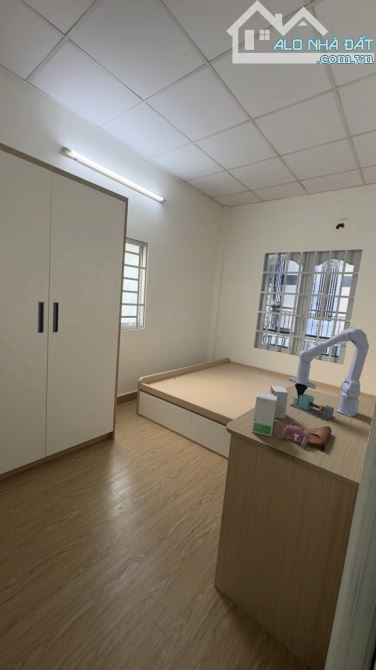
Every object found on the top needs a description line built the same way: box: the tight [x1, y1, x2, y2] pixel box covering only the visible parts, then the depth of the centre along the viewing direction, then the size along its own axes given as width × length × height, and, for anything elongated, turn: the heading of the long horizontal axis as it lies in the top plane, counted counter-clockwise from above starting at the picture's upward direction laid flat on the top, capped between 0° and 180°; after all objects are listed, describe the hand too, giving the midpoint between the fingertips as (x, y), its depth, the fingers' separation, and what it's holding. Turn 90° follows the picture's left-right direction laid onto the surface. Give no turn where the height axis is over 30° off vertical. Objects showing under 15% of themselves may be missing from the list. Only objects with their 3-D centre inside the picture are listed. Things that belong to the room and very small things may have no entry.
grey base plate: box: [289, 403, 336, 421], centre depth 142 cm, size 8×20×1 cm, turn 36°
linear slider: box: [292, 395, 335, 420], centre depth 142 cm, size 4×20×5 cm, turn 35°
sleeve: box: [298, 393, 315, 410], centre depth 145 cm, size 6×5×6 cm
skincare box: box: [251, 391, 277, 438], centre depth 116 cm, size 8×7×16 cm
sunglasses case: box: [306, 425, 333, 452], centre depth 113 cm, size 18×7×7 cm
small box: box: [269, 385, 289, 419], centre depth 134 cm, size 8×6×13 cm
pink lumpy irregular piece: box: [280, 424, 310, 449], centre depth 110 cm, size 10×5×7 cm, turn 46°
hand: (299, 397), depth 148 cm, fingers closed
